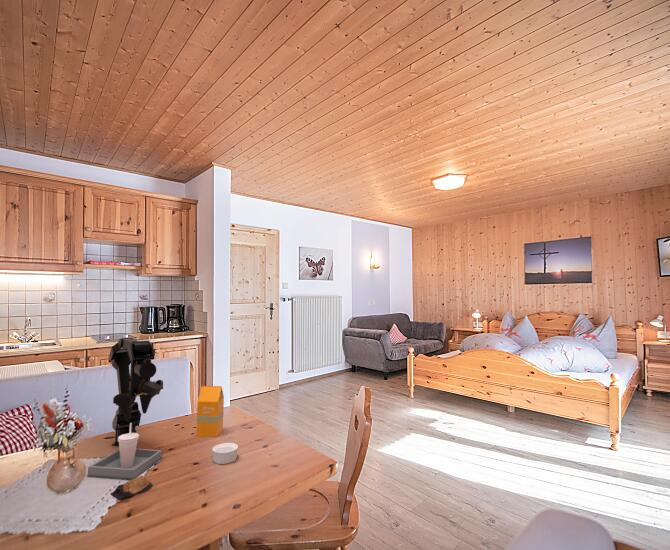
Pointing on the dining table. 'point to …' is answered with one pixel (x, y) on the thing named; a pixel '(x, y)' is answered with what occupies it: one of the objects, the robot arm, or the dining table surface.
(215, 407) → the orange juice
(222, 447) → the ramekin
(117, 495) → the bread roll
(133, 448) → the smoothie
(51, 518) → the dining table surface
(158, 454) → the gray square tray
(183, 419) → the dining table surface
